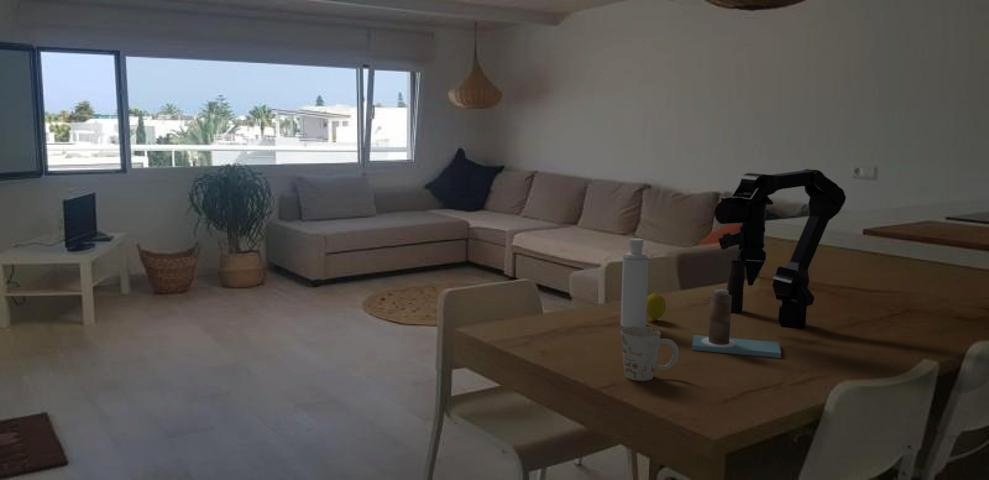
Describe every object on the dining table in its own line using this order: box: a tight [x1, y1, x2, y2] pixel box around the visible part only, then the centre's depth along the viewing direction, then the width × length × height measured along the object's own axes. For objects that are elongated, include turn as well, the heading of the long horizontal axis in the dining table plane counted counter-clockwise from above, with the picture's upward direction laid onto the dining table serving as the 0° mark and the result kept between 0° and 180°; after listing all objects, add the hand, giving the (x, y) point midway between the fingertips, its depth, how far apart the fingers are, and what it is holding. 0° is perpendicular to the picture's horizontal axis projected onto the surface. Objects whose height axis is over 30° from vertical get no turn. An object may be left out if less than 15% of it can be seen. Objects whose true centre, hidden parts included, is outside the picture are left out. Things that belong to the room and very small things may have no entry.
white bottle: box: [620, 237, 650, 328], centre depth 200 cm, size 7×7×25 cm
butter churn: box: [726, 250, 746, 313], centre depth 216 cm, size 9×10×28 cm
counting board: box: [691, 334, 782, 359], centre depth 182 cm, size 20×9×1 cm, turn 73°
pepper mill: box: [708, 288, 732, 345], centre depth 181 cm, size 5×5×13 cm
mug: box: [620, 326, 680, 382], centre depth 161 cm, size 8×13×10 cm, turn 95°
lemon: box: [646, 291, 666, 322], centre depth 206 cm, size 6×6×8 cm
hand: (749, 281), depth 196 cm, fingers open, 9 cm apart
